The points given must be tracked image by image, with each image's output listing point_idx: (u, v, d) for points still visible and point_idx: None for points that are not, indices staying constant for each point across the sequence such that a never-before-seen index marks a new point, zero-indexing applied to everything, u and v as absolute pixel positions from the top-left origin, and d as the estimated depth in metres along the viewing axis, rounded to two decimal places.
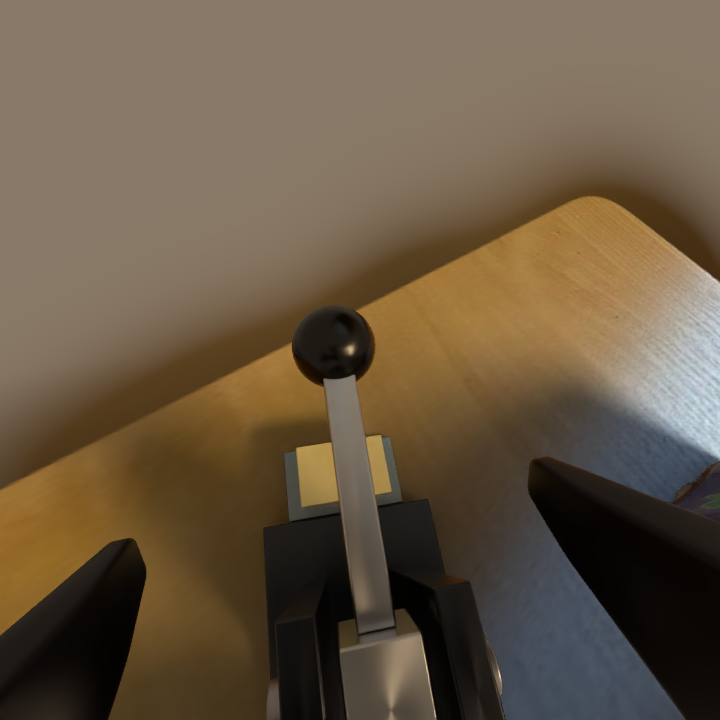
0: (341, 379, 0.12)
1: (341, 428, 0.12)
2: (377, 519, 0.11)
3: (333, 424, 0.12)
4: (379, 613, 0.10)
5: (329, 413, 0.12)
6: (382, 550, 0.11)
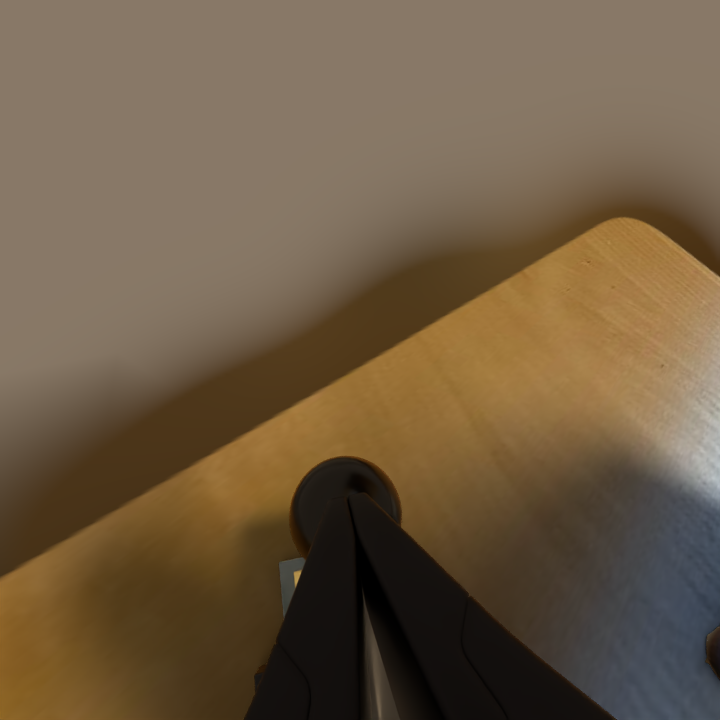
0: None
1: None
2: None
3: None
4: None
5: None
6: None
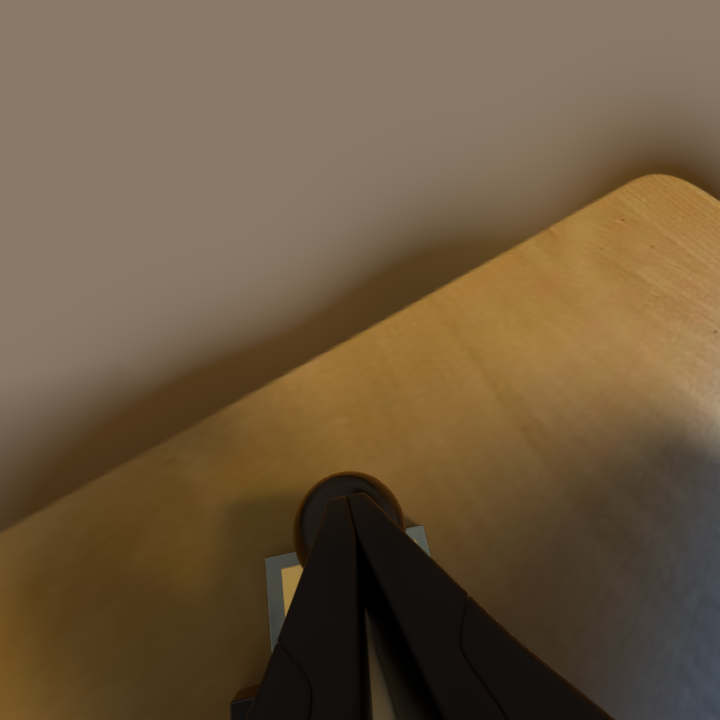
0: None
1: None
2: None
3: None
4: None
5: None
6: None
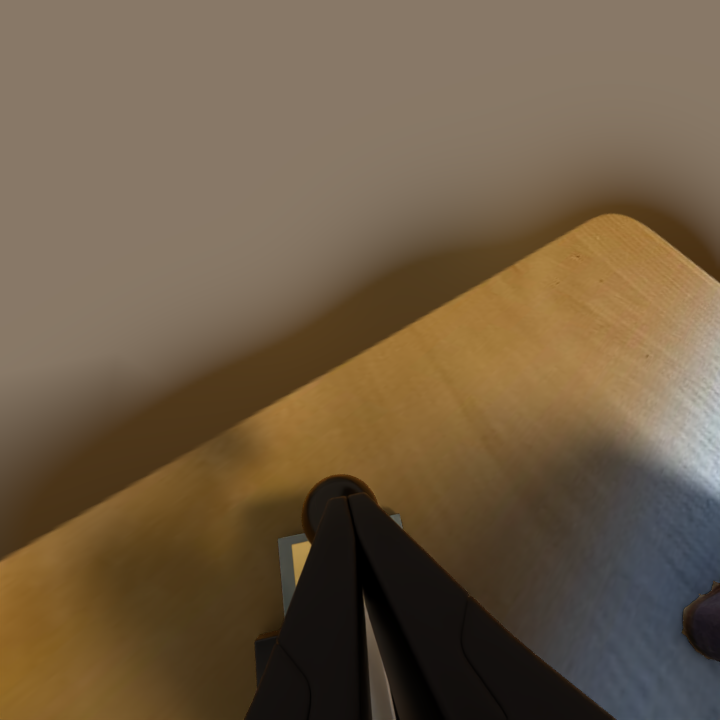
0: None
1: None
2: (393, 717, 0.10)
3: None
4: None
5: None
6: None
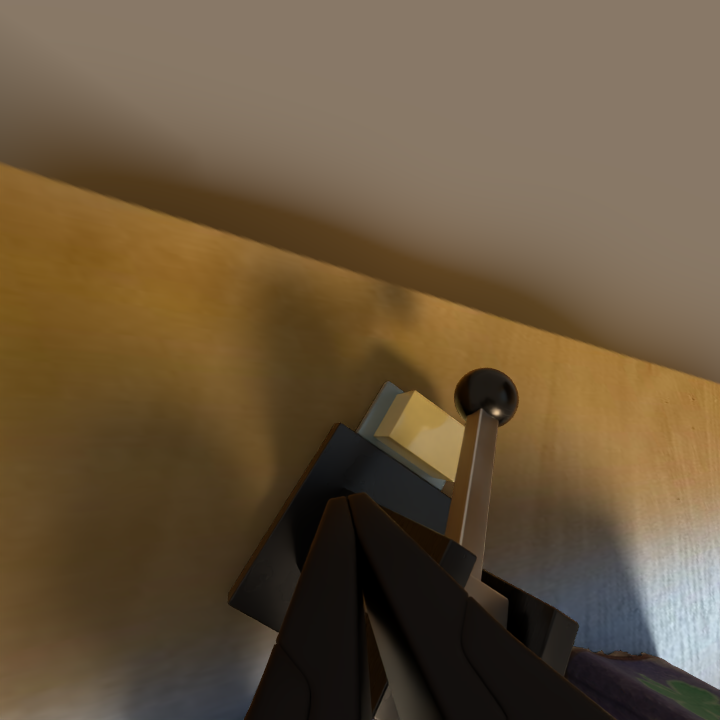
0: (491, 416, 0.17)
1: (483, 443, 0.16)
2: (487, 513, 0.14)
3: (479, 437, 0.16)
4: (472, 572, 0.12)
5: (479, 429, 0.16)
6: (485, 534, 0.13)
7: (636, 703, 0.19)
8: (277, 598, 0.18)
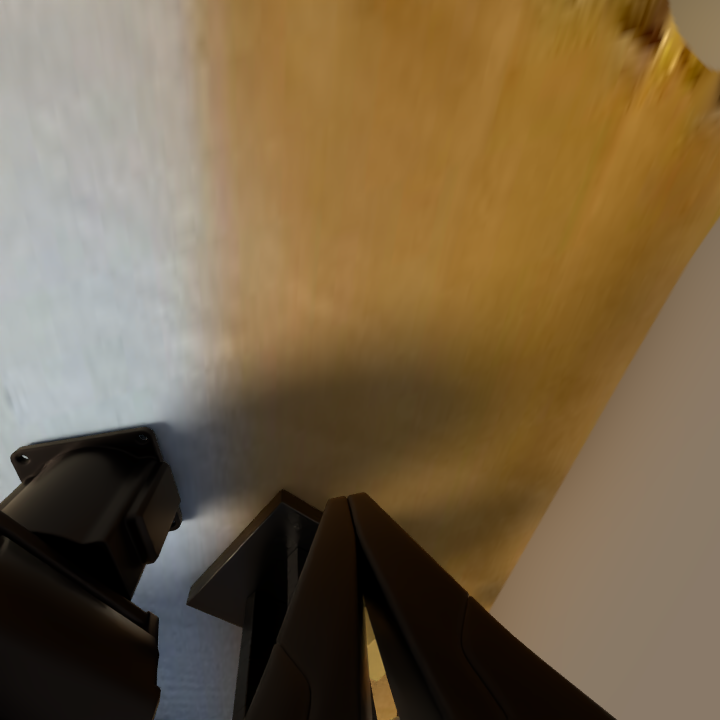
0: None
1: None
2: None
3: None
4: None
5: None
6: None
7: None
8: (276, 534, 0.21)
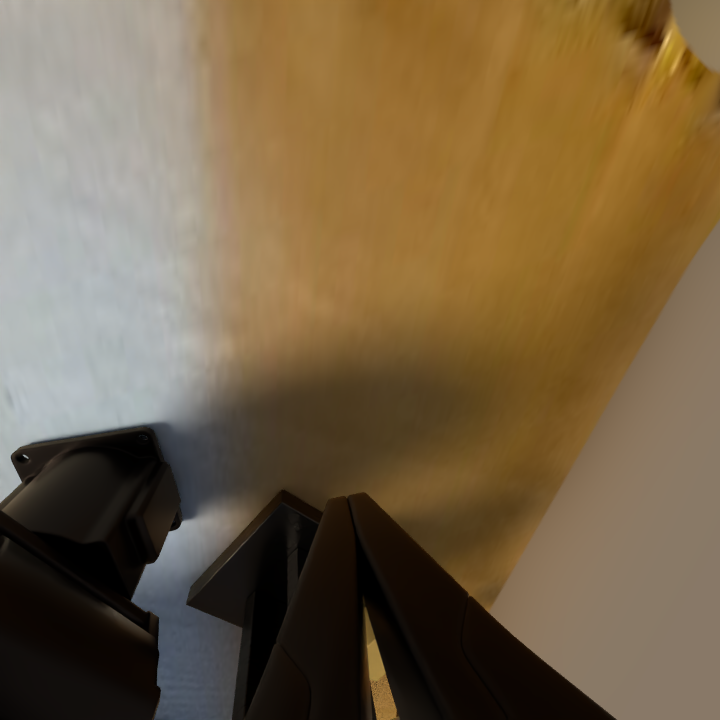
0: None
1: None
2: None
3: None
4: None
5: None
6: None
7: None
8: (276, 534, 0.21)
